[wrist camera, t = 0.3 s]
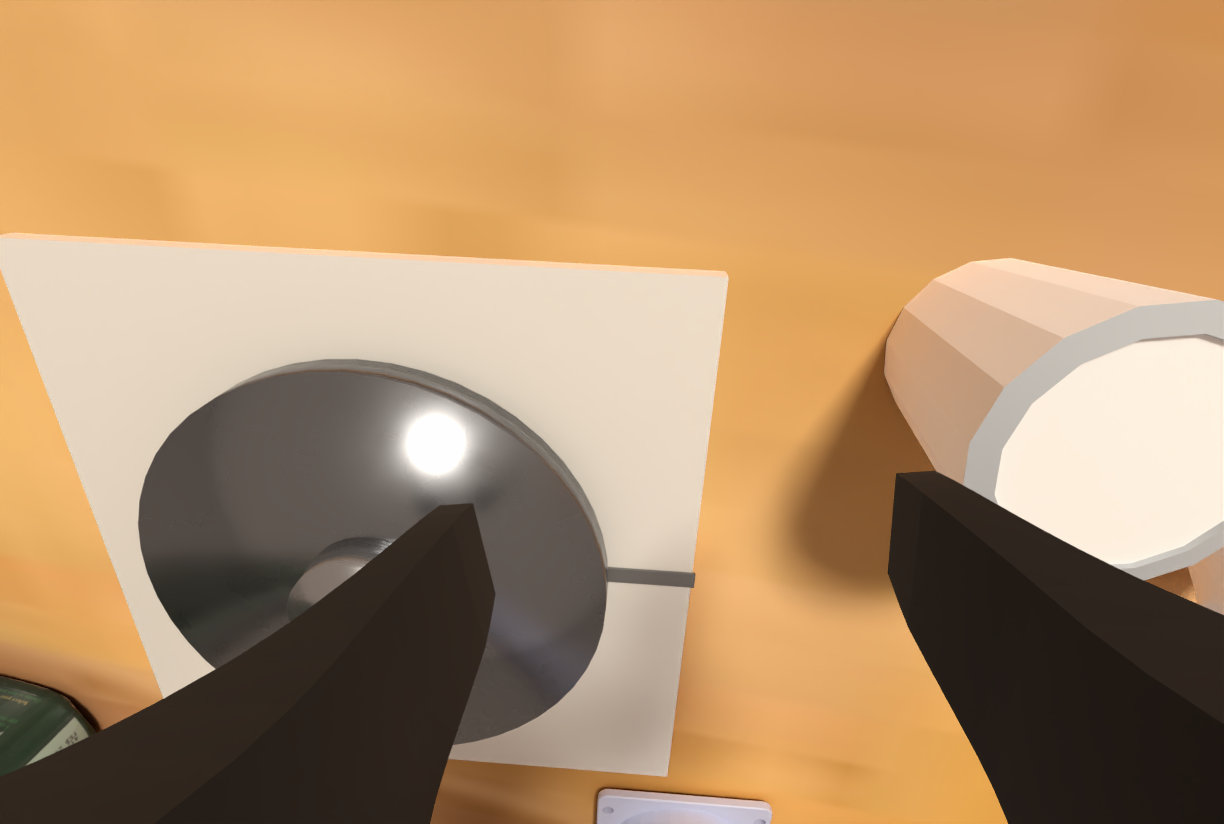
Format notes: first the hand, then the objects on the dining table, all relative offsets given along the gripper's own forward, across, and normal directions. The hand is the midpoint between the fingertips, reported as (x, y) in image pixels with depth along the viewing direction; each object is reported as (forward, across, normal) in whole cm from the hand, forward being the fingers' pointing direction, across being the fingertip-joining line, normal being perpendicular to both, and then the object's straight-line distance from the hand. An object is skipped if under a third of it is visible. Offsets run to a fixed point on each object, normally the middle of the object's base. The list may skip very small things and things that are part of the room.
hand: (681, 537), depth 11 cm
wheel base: (+10, +11, +7) cm, 16 cm away
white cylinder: (+10, -10, +1) cm, 14 cm away
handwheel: (+9, +11, +7) cm, 15 cm away
